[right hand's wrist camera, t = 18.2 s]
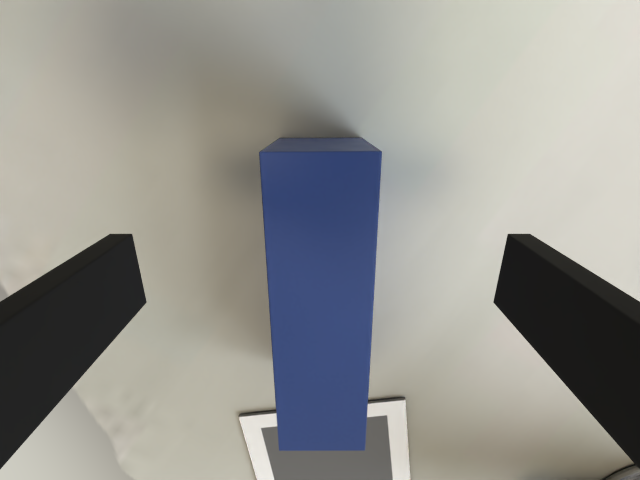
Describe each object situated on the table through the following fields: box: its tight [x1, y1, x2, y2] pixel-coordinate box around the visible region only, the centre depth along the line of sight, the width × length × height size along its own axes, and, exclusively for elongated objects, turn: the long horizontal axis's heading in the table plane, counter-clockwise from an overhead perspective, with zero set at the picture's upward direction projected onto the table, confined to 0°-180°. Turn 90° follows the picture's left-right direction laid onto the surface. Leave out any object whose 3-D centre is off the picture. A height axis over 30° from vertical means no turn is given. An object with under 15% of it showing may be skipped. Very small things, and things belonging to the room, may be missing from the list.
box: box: [259, 138, 382, 451], centre depth 30 cm, size 25×8×11 cm, turn 0°
